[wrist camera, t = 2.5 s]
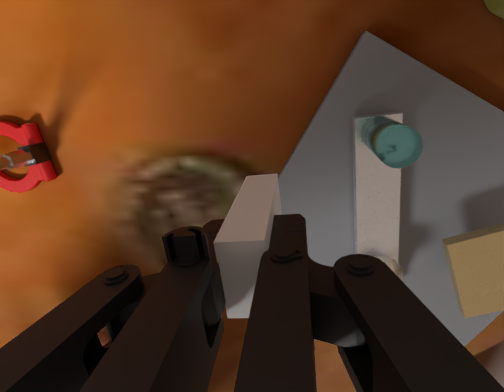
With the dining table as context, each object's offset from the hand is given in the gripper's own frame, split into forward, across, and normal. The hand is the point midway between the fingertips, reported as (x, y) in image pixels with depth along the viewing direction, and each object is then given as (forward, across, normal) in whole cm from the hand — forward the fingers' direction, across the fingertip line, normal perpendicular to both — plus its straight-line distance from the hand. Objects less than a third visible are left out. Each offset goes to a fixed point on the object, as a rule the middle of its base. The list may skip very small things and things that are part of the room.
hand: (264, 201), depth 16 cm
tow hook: (+19, +32, -1) cm, 37 cm away
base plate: (+19, -13, +10) cm, 25 cm away
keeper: (+18, -18, +14) cm, 29 cm away
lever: (+17, -9, +8) cm, 21 cm away
